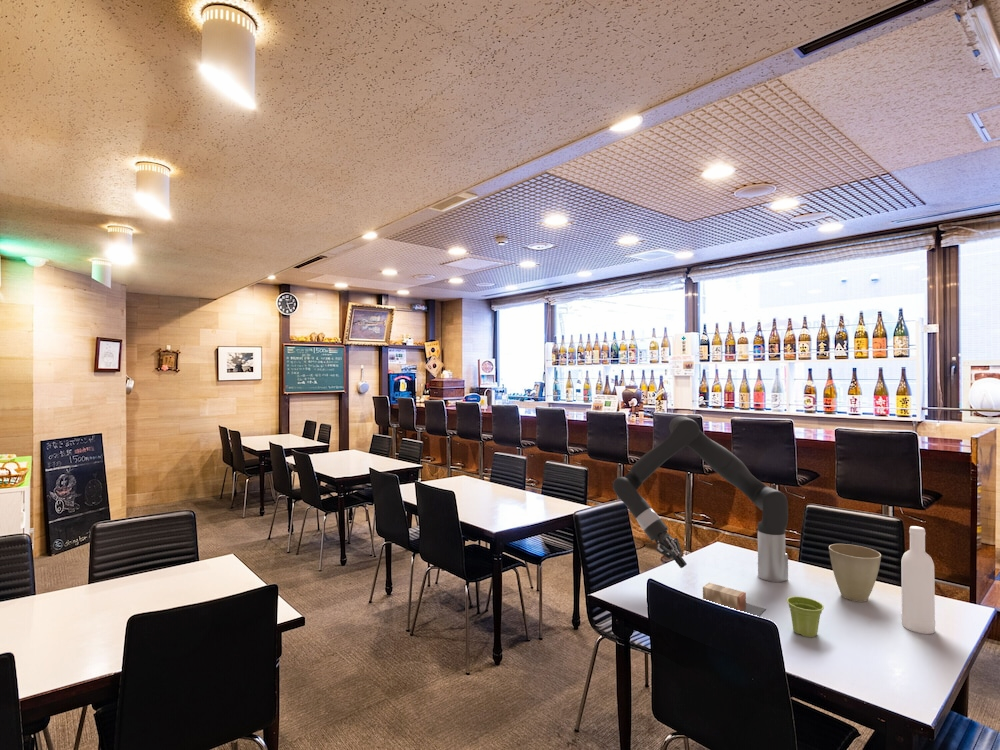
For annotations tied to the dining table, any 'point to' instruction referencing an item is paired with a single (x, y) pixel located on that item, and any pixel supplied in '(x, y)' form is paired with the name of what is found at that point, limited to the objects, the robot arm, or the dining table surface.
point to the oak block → (725, 596)
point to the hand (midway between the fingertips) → (684, 566)
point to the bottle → (918, 585)
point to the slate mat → (754, 609)
